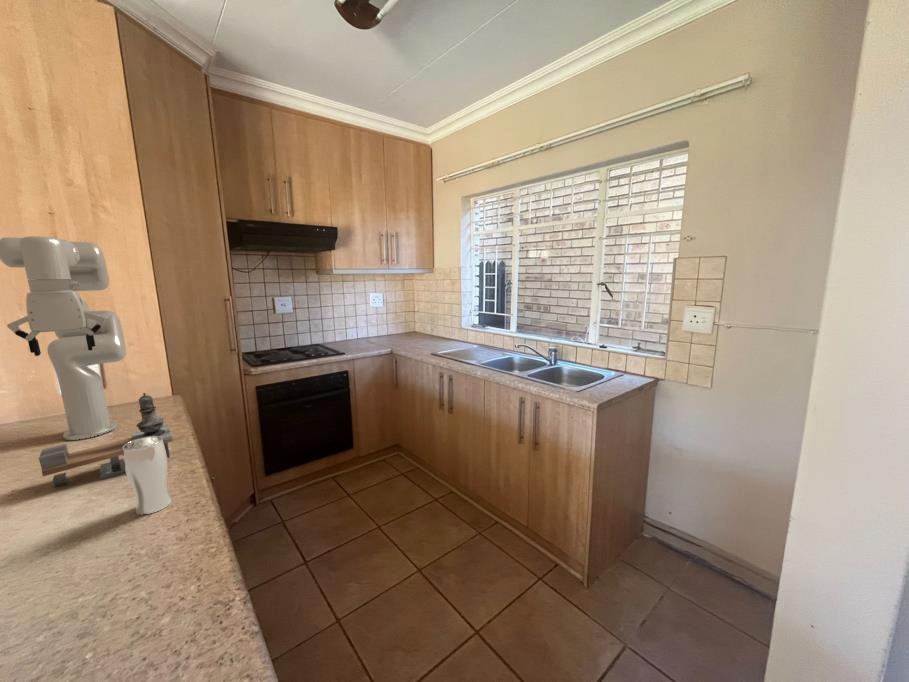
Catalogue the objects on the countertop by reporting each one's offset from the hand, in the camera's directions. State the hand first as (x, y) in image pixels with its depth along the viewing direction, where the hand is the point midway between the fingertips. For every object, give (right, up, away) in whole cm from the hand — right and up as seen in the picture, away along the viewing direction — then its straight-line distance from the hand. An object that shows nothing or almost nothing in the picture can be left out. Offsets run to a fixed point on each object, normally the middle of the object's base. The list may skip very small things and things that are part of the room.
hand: (65, 352), depth 97 cm
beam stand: (+14, -31, -1) cm, 34 cm away
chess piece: (+20, -23, +3) cm, 31 cm away
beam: (+14, -26, -2) cm, 30 cm away
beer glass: (+37, -34, -16) cm, 52 cm away
